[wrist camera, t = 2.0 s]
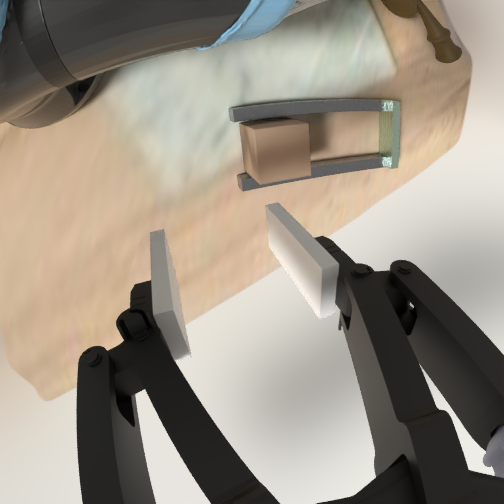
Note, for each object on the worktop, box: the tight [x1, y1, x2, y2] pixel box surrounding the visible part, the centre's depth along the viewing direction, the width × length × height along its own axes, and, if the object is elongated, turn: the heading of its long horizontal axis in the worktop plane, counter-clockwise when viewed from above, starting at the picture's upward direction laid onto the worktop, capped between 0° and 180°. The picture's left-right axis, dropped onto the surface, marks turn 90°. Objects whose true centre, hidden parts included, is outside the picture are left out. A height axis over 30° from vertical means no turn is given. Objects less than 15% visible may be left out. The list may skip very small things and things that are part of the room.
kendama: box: [381, 0, 462, 63], centre depth 28 cm, size 6×10×20 cm
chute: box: [229, 99, 400, 191], centre depth 36 cm, size 10×24×3 cm, turn 97°
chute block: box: [239, 117, 311, 185], centre depth 33 cm, size 6×6×6 cm
